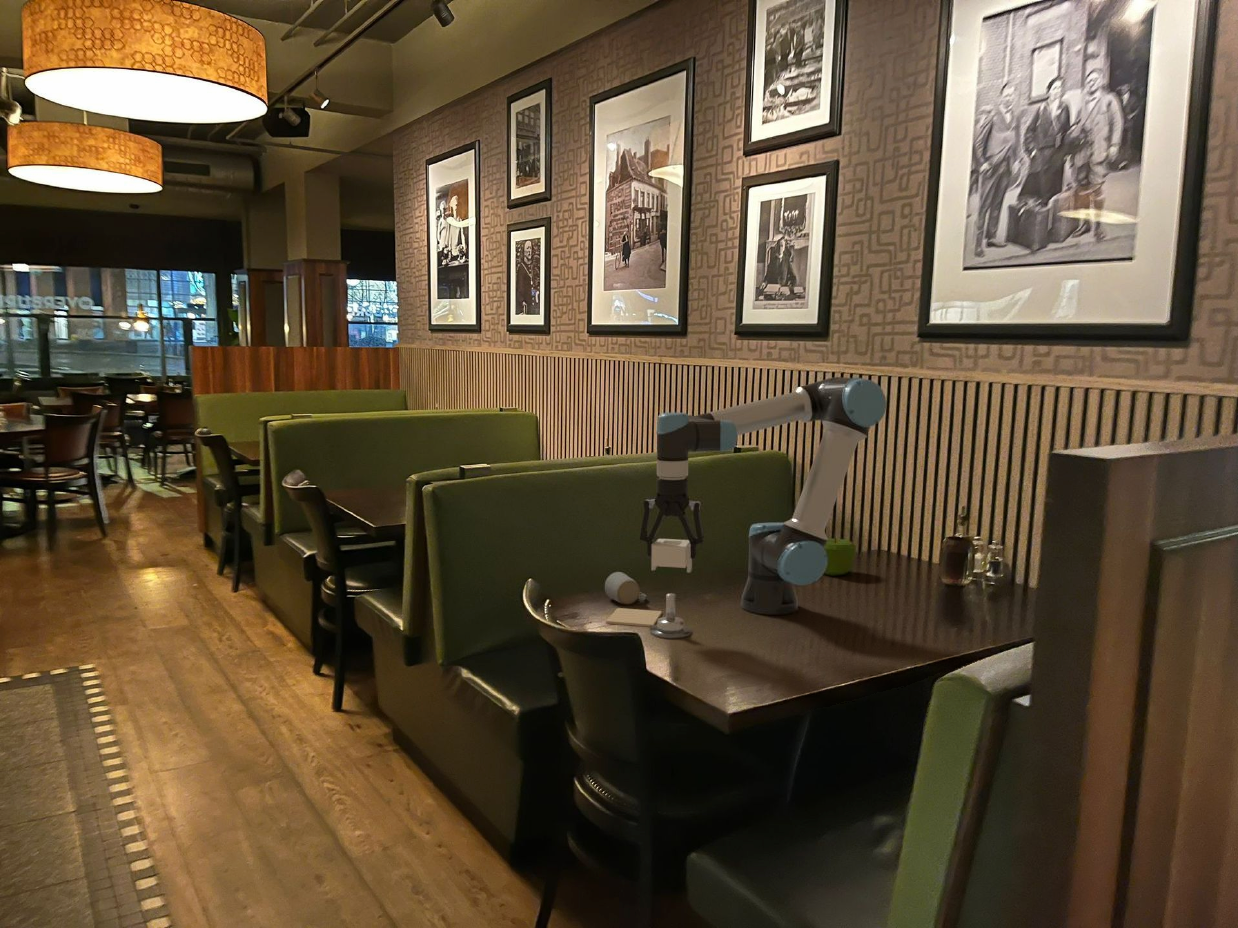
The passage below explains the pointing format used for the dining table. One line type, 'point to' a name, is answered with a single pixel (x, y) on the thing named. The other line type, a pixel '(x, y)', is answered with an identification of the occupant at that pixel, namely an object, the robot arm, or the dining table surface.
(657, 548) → the white hollow square block
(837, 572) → the apple
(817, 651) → the dining table surface
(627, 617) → the mat
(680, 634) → the stand
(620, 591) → the ceramic mug
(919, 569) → the dining table surface
